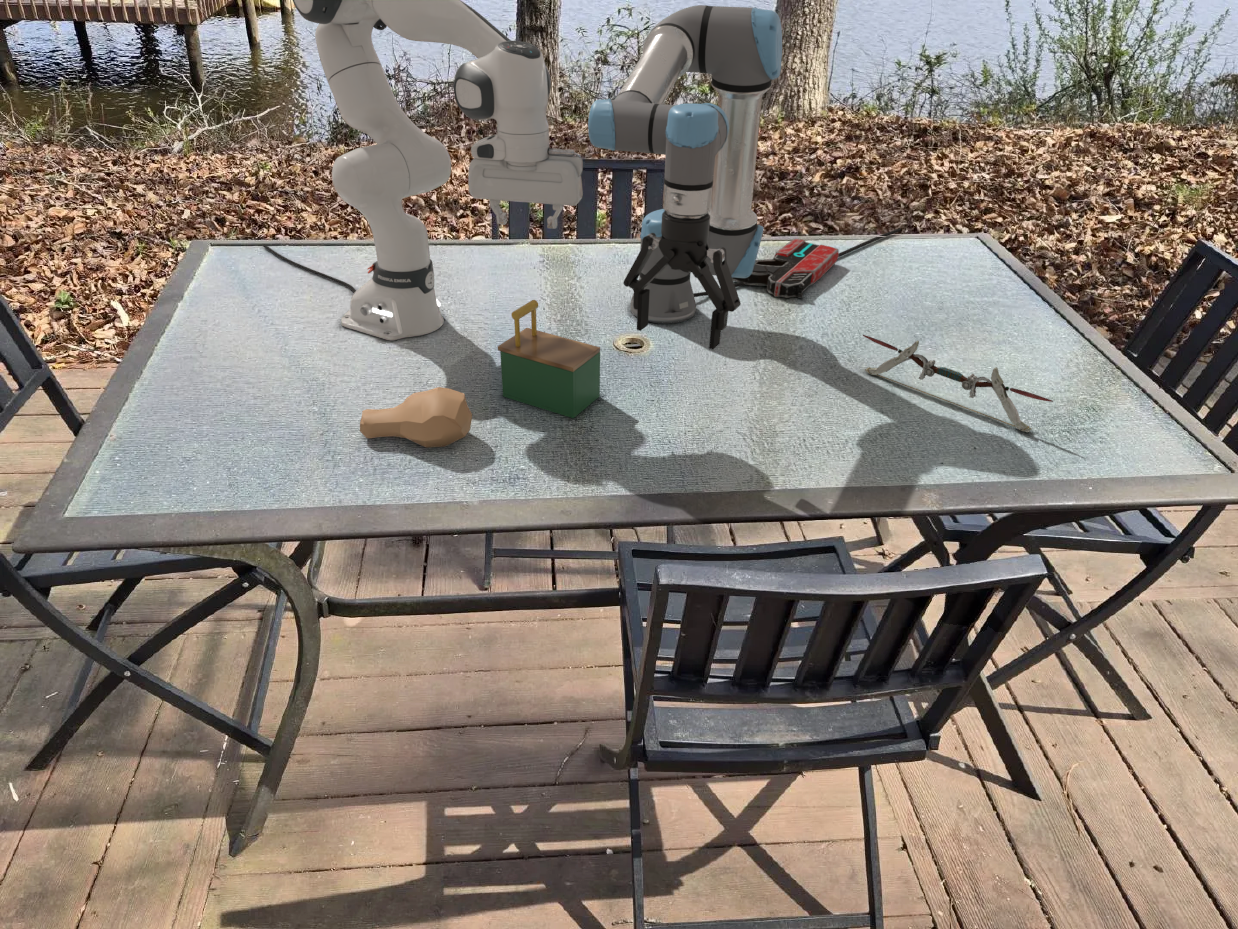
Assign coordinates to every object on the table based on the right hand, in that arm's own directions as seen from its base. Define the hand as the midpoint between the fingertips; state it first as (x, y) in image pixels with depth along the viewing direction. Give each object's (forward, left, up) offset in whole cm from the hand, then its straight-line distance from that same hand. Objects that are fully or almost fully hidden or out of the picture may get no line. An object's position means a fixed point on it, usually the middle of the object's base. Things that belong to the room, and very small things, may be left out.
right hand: (677, 336), depth 148 cm
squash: (+24, -38, -20) cm, 49 cm away
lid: (-1, -26, -10) cm, 28 cm away
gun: (-86, -9, -20) cm, 89 cm away
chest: (-1, -26, -20) cm, 33 cm away
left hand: (-5, -34, +12) cm, 36 cm away
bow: (-39, +40, -20) cm, 60 cm away
